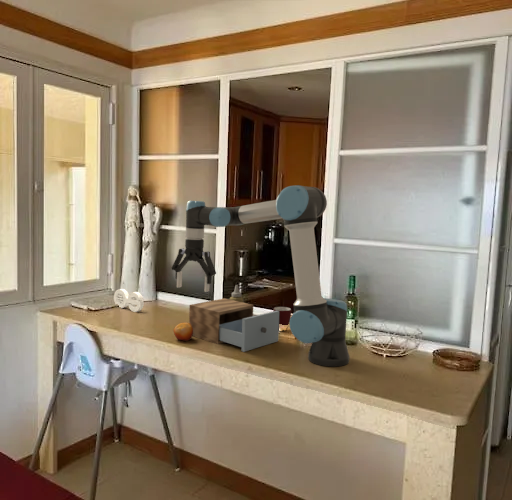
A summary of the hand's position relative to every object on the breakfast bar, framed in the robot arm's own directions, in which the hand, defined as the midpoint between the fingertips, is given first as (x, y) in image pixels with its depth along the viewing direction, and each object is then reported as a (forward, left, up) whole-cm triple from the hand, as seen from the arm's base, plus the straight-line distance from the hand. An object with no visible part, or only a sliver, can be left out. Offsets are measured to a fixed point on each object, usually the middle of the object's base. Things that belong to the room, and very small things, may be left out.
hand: (192, 289), depth 199 cm
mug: (-17, -37, -21) cm, 46 cm away
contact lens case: (+63, -10, -21) cm, 67 cm away
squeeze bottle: (+7, -33, -21) cm, 40 cm away
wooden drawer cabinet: (-4, -13, -21) cm, 25 cm away
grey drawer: (-19, -13, -21) cm, 31 cm away
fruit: (+2, +3, -21) cm, 22 cm away
